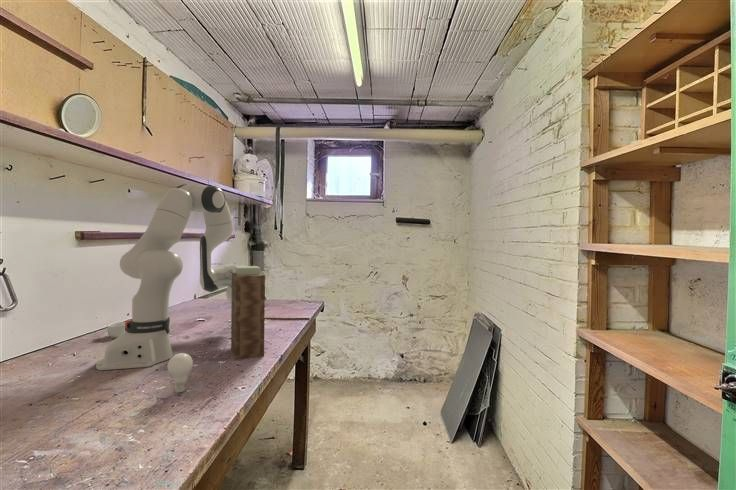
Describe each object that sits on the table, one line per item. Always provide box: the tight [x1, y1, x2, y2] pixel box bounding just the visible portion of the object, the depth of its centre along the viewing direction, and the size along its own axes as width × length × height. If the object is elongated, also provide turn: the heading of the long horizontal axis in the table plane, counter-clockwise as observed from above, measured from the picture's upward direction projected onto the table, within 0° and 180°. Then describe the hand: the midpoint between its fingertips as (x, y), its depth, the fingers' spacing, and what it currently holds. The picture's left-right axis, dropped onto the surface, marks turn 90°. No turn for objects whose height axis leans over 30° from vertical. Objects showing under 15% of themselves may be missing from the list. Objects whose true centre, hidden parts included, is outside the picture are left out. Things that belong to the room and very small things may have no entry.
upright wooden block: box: [230, 272, 266, 361], centre depth 134 cm, size 10×14×30 cm
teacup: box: [106, 321, 126, 339], centre depth 152 cm, size 10×8×5 cm
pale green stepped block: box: [235, 264, 261, 275], centre depth 139 cm, size 8×19×2 cm, turn 27°
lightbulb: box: [166, 352, 194, 394], centre depth 99 cm, size 6×6×11 cm
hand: (243, 270), depth 145 cm, fingers open, 8 cm apart
